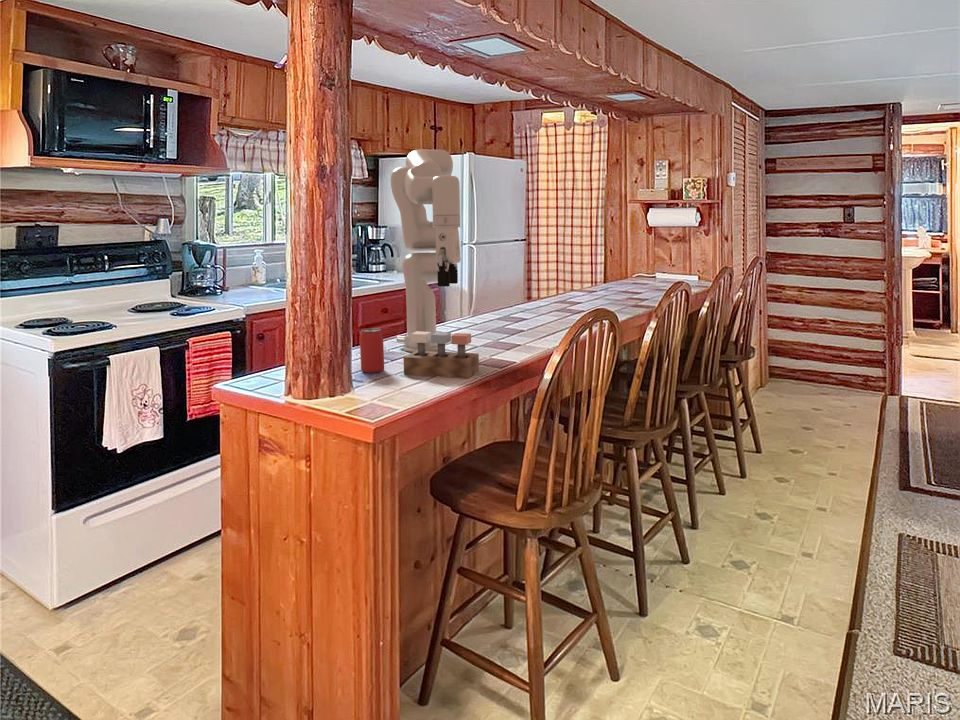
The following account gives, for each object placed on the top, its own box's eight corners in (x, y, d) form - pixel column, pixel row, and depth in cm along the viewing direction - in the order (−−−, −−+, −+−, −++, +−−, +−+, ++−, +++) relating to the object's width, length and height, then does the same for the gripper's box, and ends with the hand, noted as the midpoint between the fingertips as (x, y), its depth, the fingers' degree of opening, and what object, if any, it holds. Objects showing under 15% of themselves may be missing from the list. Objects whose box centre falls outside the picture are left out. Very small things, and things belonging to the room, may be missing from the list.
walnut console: (403, 374, 202) (403, 357, 201) (417, 367, 211) (416, 350, 210) (468, 378, 196) (468, 360, 195) (478, 370, 206) (478, 353, 205)
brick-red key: (451, 361, 200) (451, 335, 198) (456, 358, 204) (456, 333, 202) (466, 362, 199) (466, 336, 197) (471, 359, 203) (471, 333, 201)
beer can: (356, 371, 207) (354, 329, 204) (375, 367, 211) (373, 327, 209) (370, 374, 202) (368, 332, 200) (388, 370, 207) (387, 329, 204)
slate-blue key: (431, 360, 202) (430, 334, 200) (436, 357, 206) (436, 332, 204) (446, 361, 200) (445, 335, 199) (451, 358, 204) (450, 332, 203)
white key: (411, 359, 203) (410, 333, 202) (417, 356, 207) (416, 331, 206) (426, 360, 202) (425, 334, 200) (431, 357, 206) (431, 331, 205)
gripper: (452, 222, 187) (454, 287, 190) (466, 222, 204) (467, 282, 207) (424, 222, 189) (426, 287, 192) (441, 222, 205) (442, 282, 209)
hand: (448, 284), depth 200 cm, fingers open, 9 cm apart
